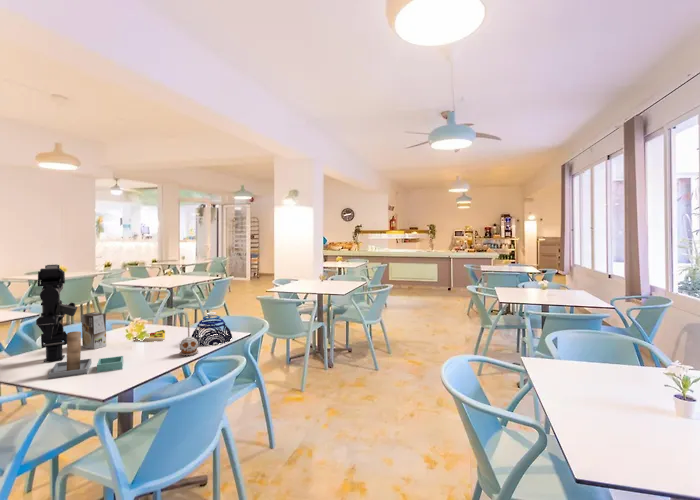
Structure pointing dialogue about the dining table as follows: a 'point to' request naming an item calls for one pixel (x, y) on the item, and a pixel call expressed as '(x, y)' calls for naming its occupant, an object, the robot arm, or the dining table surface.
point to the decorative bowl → (212, 330)
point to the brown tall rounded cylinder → (73, 350)
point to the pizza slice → (155, 336)
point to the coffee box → (94, 330)
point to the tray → (61, 371)
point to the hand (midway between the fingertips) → (52, 337)
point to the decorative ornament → (188, 345)
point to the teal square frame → (110, 364)
